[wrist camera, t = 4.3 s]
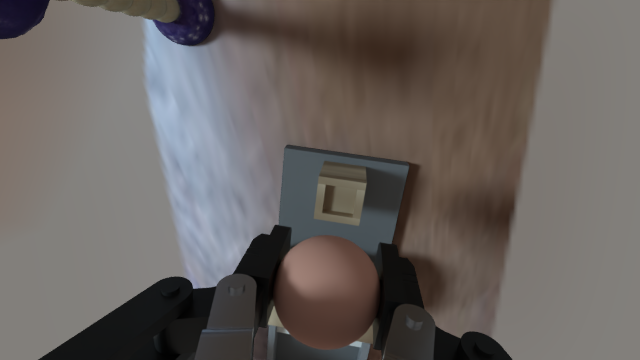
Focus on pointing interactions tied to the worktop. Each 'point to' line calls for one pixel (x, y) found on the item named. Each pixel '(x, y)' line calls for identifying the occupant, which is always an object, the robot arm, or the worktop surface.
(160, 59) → the worktop surface
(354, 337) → the ball
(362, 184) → the light wooden block
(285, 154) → the grey long tray
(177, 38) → the toy lamp
